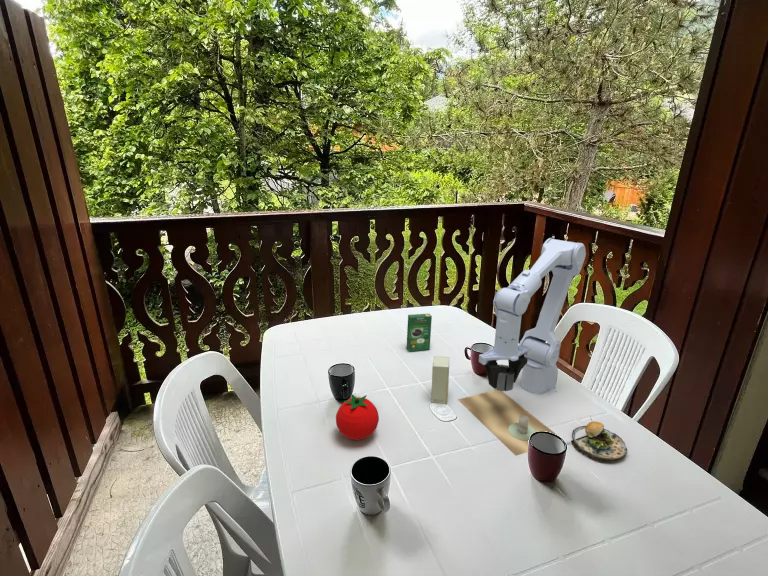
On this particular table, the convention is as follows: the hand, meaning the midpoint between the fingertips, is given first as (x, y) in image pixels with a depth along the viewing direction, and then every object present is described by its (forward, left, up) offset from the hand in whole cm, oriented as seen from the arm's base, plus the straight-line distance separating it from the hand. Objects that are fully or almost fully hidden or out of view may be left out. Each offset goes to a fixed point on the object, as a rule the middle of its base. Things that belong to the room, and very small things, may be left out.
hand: (502, 383), depth 107 cm
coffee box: (+3, -41, -9) cm, 42 cm away
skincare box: (+12, -11, -9) cm, 19 cm away
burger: (-13, +20, -10) cm, 26 cm away
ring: (0, 0, -1) cm, 1 cm away
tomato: (+38, -6, -9) cm, 39 cm away
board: (+1, +4, -9) cm, 10 cm away
